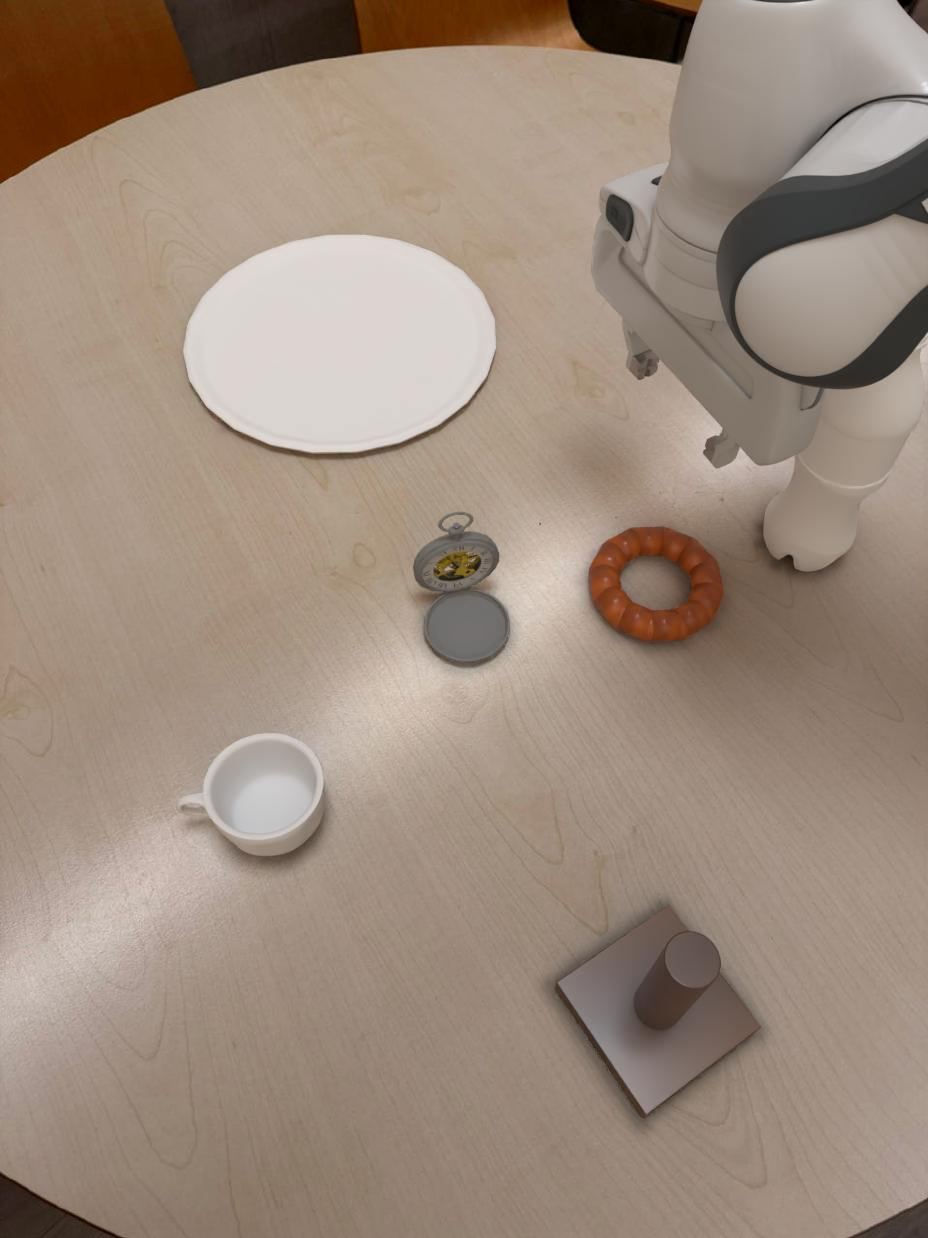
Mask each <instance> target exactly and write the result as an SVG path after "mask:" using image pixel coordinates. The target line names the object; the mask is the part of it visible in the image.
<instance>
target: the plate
mask: <svg viewBox="0 0 928 1238" xmlns="http://www.w3.org/2000/svg"><path fill="white" fill-rule="evenodd" d="M496 335H497V334H496V318H495V316H494V314H493V312H492V309H491V307H490V305H489V303H488V301H487V299H486V296H485V294H484V292H483V291H482V289H481V288H479V286H478V285H477V284H476V283H475V282H474V281H473V280H472V279H471V278H470V277H469V275H467V273H466V272H464V270H463V269H461V268H460V267H458V266H457V265H455V264H453V263H452V262H450V261H449V260H448V259H446V258H444V257H443V256H441V255H440V254H439V253H436V252H435V251H432V250H429V249H427V248H424V247H421V246H418V245H415V244H412V243H410V242H406V241H405V240H401V239H398V238H397V239H396V238H390V237H384V236H377V235H371V234H365V233H364V234H358V233H355V234H353V233H352V234H325V235H324V234H323V235H319V236H312V237H307V238H302V239H297V240H291V241H288V242H285V243H283V244H279V245H277V246H275V247H272V248H269V249H267V250H264V251H261V252H259V253H256V254H254V255H253V256H251V257H250V258H248V259H246V260H244V261H243V262H241V263H239V264H238V265H237V266H235V267H233V268H232V269H230V270H227V272H225V273H224V274H223V275H222V276H221V277H220V278H219V279H218V280H217V281H216V282H215V283H214V284H213V285H211V287H209V289H208V290H207V291H206V292H205V293H204V294H203V295H202V296H201V298H200V300H199V301H198V303H197V305H196V306H195V309H194V310H193V313H192V314H191V316H190V318H189V320H188V322H187V325H186V330H185V336H184V343H183V349H182V355H183V358H184V362H185V363H184V364H185V367H186V373H187V377H188V381H189V383H190V385H191V386H192V388H193V389H194V391H195V392H196V393H197V396H198V397H199V398H200V399H201V401H202V403H203V404H204V406H205V407H206V409H208V410H209V412H212V413H213V415H214V416H216V417H218V418H219V419H220V420H221V421H222V422H224V423H225V424H227V425H228V426H229V427H230V428H231V429H233V430H234V431H236V432H239V433H240V434H242V435H245V436H247V437H249V438H252V439H254V440H257V441H258V442H261V443H264V444H266V445H268V446H271V447H275V448H280V449H286V450H290V451H291V450H292V451H296V452H301V453H302V452H303V453H307V454H312V455H316V454H318V455H320V454H359V453H363V452H369V451H373V450H377V449H381V448H386V447H391V446H395V445H396V446H397V445H400V444H402V443H404V442H406V441H409V440H411V439H413V438H415V437H417V436H420V435H422V434H424V433H427V432H428V431H429V432H430V431H431V430H433V429H435V428H438V427H439V426H440V425H442V424H443V423H444V422H446V421H447V420H448V419H450V418H451V417H452V416H453V415H455V414H456V413H457V412H459V411H460V410H461V409H463V408H464V407H465V406H466V405H468V403H470V401H471V400H472V398H473V397H474V395H475V394H476V392H478V390H479V389H480V387H481V386H482V385H483V384H484V382H485V380H486V379H487V378H488V376H489V372H490V369H491V366H492V363H493V359H494V356H495V353H496V350H497V338H496V337H497V336H496Z"/></svg>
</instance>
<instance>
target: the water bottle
mask: <svg viewBox="0 0 928 1238" xmlns="http://www.w3.org/2000/svg"><path fill="white" fill-rule="evenodd" d="M927 345H928V333H927V334H926V335H925V337H924V338H923V339H922V340H921V342H920V343H919V344H918V346H917V347H916V348H915V350H914V351H913V352H912V353H911V355H910V356H909V357H908V358H907V359H906V360H905V362H904V363H903V364H902V365H901V366H900V367H899V368H898V369H896V370H895V371H894V372H893V373H891V374H890V375H889V376H887V377H886V378H884V379H882V380H881V381H879V382H876V383H874V384H871V385H868V386H865V387H861V388H855V389H826V394H825V398H824V403H823V407H822V411H821V415H820V418H819V422H818V425H817V428H816V431H815V434H814V437H813V439H812V441H811V443H810V445H809V446H808V447H807V448H806V449H805V450H804V451H802V452H800V453H799V454H797V455H795V456H794V464H793V465H794V466H793V471H792V475H791V477H790V480H789V482H788V484H787V486H786V487H784V488H783V489H782V490H780V491H779V492H778V493H776V495H774V496H773V497H772V498H771V500H769V503H768V504H767V507H766V508H765V512H764V518H763V525H762V526H763V529H762V531H763V532H762V533H763V539H764V543H765V545H766V546H765V547H766V548H767V549H768V550H767V551H768V552H769V553H770V554H771V556H772V557H773V558H774V559H776V560H777V561H779V560H781V559H783V558H784V557H786V556H788V555H790V556H791V557H792V558H793V567H794V569H795V570H798V571H800V572H816V571H819V570H821V569H824V568H827V567H828V566H829V565H831V564H832V563H834V562H835V561H836V560H837V559H838V558H841V557H842V556H843V555H844V554H846V553H847V552H848V551H849V549H850V548H851V547H852V545H853V544H854V542H855V539H856V537H857V533H858V515H859V510H860V507H861V506H860V505H861V503H862V502H863V501H864V500H865V499H867V498H868V497H869V496H870V495H873V494H874V493H875V492H877V491H878V490H879V489H880V488H882V486H884V484H886V482H887V481H888V479H889V477H890V475H891V474H892V473H893V470H894V467H895V464H896V461H897V459H898V457H899V455H900V453H901V452H902V450H903V448H904V446H905V444H906V443H907V440H908V439H909V437H910V435H911V433H912V432H913V431H914V430H915V429H916V428H917V426H918V424H919V423H920V421H921V418H922V415H923V413H924V407H925V402H926V388H925V380H924V371H923V368H922V363H921V352H922V350H923V349H924V348H926V347H927Z"/></svg>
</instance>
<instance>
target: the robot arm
mask: <svg viewBox="0 0 928 1238" xmlns="http://www.w3.org/2000/svg"><path fill="white" fill-rule="evenodd" d="M672 103H673V104H672V108H671V113H670V119H669V124H668V126H669V127H668V131H669V132H668V137H669V146H670V157H669V159H668V160H666V161H661V162H659V163H655V164H652V165H648V166H646V167H642V168H639V169H637V170H634V171H631V172H628V173H627V174H624V175H621V176H619V177H617V178H615V179H613V180H610V181H608V182H606V183H604V184H602V185H601V187H600V189H599V195H598V209H599V212H600V216H599V217H598V219H597V222H596V225H595V230H594V235H593V241H592V250H591V257H590V273H591V278H592V281H593V284H594V287H595V289H596V291H597V292H598V294H600V296H601V297H602V298H603V299H604V300H605V301H606V302H607V303H608V304H609V306H611V308H612V309H613V310H614V311H615V312H616V313H617V314H618V315H619V316H620V317H621V318H622V320H621V327H622V331H623V335H624V340H625V341H624V342H625V344H626V349H627V351H628V352H627V356H626V363H625V367H626V369H627V370H628V371H629V372H630V373H631V374H632V375H633V376H634V377H635V378H636V379H637V381H642V380H644V379H645V378H647V377H651V376H653V375H655V373H657V371H658V368H659V365H658V363H660V361H661V363H662V364H663V365H664V366H665V367H666V368H667V369H668V370H669V371H670V372H671V373H672V374H673V376H675V378H676V379H677V381H679V382H680V383H681V384H682V385H683V386H684V388H685V389H686V390H687V391H688V392H689V393H690V394H691V395H692V397H694V398H695V399H696V401H697V402H698V403H699V404H700V405H701V406H702V408H704V409H705V411H706V412H707V413H708V414H709V415H710V416H711V417H712V419H714V421H716V423H717V424H718V425H719V426H720V427H721V428H722V429H721V432H720V433H719V435H717V434H716V435H715V434H714V435H712V436H710V437H708V438H706V441H705V444H704V449H703V451H702V455H703V456H704V457H705V458H706V459H707V461H709V463H710V464H711V465H712V466H713V467H714V468H715V469H717V470H718V469H721V468H723V467H725V466H728V465H729V464H732V463H733V462H734V461H735V460H736V458H737V456H738V453H739V451H740V449H741V450H742V451H743V452H744V454H745V455H746V456H747V457H748V458H749V459H750V460H751V461H752V463H753V464H755V465H757V466H759V467H764V466H771V465H776V464H779V463H782V462H784V461H786V460H789V459H791V458H793V457H795V455H797V454H799V453H800V452H802V451H804V450H805V449H806V448H807V447H808V446H809V445H810V443H811V441H812V439H813V437H814V434H815V431H816V428H817V425H818V422H819V418H820V415H821V411H822V407H823V403H824V398H825V394H826V389H855V388H861V387H865V386H868V385H871V384H874V383H876V382H879V381H881V380H882V379H884V378H886V377H887V376H889V375H890V374H891V373H893V372H894V371H895V370H896V369H898V368H899V367H900V366H901V365H902V364H903V363H904V362H905V360H906V359H907V358H908V357H909V356H910V355H911V353H912V352H913V351H914V350H915V348H916V347H917V346H918V344H919V343H920V342H921V340H922V339H923V338H924V337H925V335H926V334H927V333H928V33H927V32H926V31H925V29H923V28H922V27H921V26H920V25H919V24H917V22H916V21H915V20H914V19H913V18H912V17H911V16H910V15H909V14H908V13H907V12H906V10H905V9H904V8H903V7H902V5H901V4H900V2H899V1H898V0H702V1H701V4H700V6H699V9H698V11H697V14H696V16H695V19H694V23H693V25H692V29H691V32H690V35H689V38H688V42H687V45H686V48H685V52H684V56H683V59H682V64H681V68H680V72H679V75H678V80H677V84H676V89H675V94H674V97H673V102H672Z"/></svg>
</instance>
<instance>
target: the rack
mask: <svg viewBox="0 0 928 1238" xmlns="http://www.w3.org/2000/svg"><path fill="white" fill-rule="evenodd" d="M721 960H722V959H721V956H720V952H719V950H718V947H717V946H716V945H715V943H714V942H713V941H712V940H711V939H710V938H709V937H708V936H706V935H704V934H703V933H700V932H697V931H693V930H692V931H691V930H688V929H687V927H686V926H685V924H684V923H683V922H682V920H681V919H680V918H679V917H678V915H677V914H676V912H675V911H674V910H673V909H672V908H671V906H670V905H669V904H667V905H666V906H664V907H662V908H661V909H660V910H658V911H657V912H656V913H654V914H653V915H651V916H649V917H648V918H647V919H645V920H644V921H642V922H641V923H640V924H638V925H637V926H636V927H634V928H632V929H631V930H629V931H628V932H627V933H625V934H624V935H622V936H621V937H620V938H618V939H617V940H615V941H614V942H612V943H611V944H609V945H608V946H607V947H605V948H604V949H602V950H601V951H599V952H598V953H596V954H595V955H594V956H592V957H591V958H589V959H588V960H587V961H585V962H584V963H582V964H581V965H579V966H578V967H576V968H575V969H573V970H572V971H570V972H569V973H568V974H566V975H564V977H562V978H561V979H558V980H557V981H556V983H555V986H554V989H555V991H556V992H557V993H558V995H559V996H560V998H561V999H562V1001H563V1002H564V1004H565V1005H566V1007H567V1009H568V1011H570V1012H571V1014H572V1016H573V1017H574V1019H575V1020H576V1022H577V1023H578V1025H579V1026H580V1028H581V1030H583V1033H585V1036H586V1037H587V1038H588V1040H589V1041H590V1043H591V1044H592V1045H593V1047H594V1048H595V1050H596V1052H597V1053H598V1055H599V1056H600V1058H601V1059H602V1060H603V1062H604V1063H605V1065H606V1066H607V1068H608V1069H609V1071H610V1072H611V1074H612V1075H613V1077H614V1078H615V1079H616V1081H617V1082H618V1084H619V1086H620V1087H621V1089H622V1091H623V1092H624V1093H625V1094H626V1096H627V1097H628V1099H629V1101H630V1102H631V1103H632V1105H633V1107H634V1108H635V1109H636V1111H637V1112H638V1114H639V1115H640V1117H641V1118H643V1119H644V1118H645V1117H646V1116H648V1115H649V1114H650V1113H651V1112H653V1111H654V1110H655V1109H657V1108H658V1107H659V1106H661V1105H662V1104H663V1103H665V1102H666V1101H667V1100H668V1099H670V1098H671V1097H673V1096H674V1095H676V1093H678V1092H679V1091H680V1090H681V1089H683V1088H684V1087H686V1086H687V1085H688V1084H689V1083H691V1082H692V1081H693V1080H695V1079H696V1078H697V1077H698V1076H700V1075H701V1074H703V1073H704V1072H705V1071H706V1070H708V1069H709V1068H711V1066H713V1065H714V1064H716V1062H718V1061H719V1060H721V1059H722V1058H723V1057H724V1056H726V1055H727V1054H728V1053H730V1052H731V1051H732V1050H734V1049H735V1048H736V1047H738V1046H739V1045H740V1044H741V1043H743V1042H744V1041H745V1040H746V1039H748V1038H750V1036H752V1035H753V1034H754V1033H756V1032H757V1031H758V1030H760V1029H761V1028H762V1026H761V1024H760V1023H759V1022H758V1021H757V1019H756V1018H755V1016H754V1015H753V1014H752V1012H751V1011H750V1010H749V1009H748V1007H747V1006H746V1005H745V1003H744V1002H743V1000H742V999H741V998H740V997H739V996H738V994H737V993H736V992H735V990H734V989H733V988H732V986H731V985H730V984H729V982H728V981H727V979H725V977H724V975H723V974H721V967H722V961H721Z"/></svg>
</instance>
